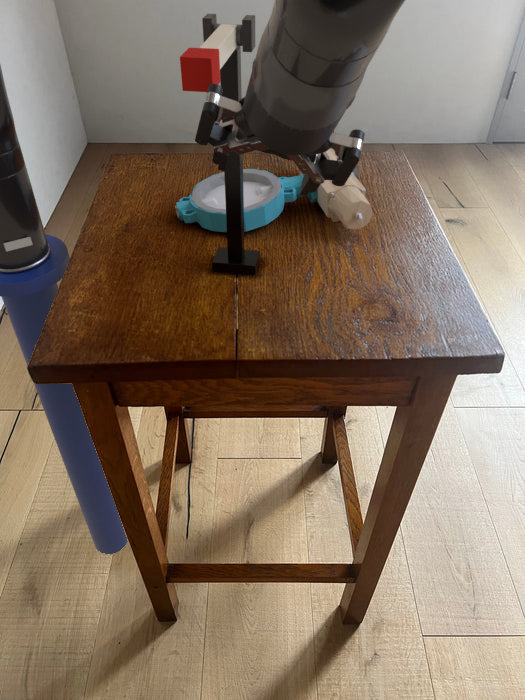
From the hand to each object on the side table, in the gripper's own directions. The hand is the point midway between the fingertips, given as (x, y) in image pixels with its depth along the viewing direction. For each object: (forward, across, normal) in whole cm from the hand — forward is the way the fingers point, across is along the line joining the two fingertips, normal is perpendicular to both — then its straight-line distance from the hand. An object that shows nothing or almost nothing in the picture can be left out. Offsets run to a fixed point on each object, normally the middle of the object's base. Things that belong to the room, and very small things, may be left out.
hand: (264, 174), depth 56 cm
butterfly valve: (+34, -5, -11) cm, 36 cm away
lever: (-1, +7, -9) cm, 11 cm away
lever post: (+24, -1, +3) cm, 24 cm away
